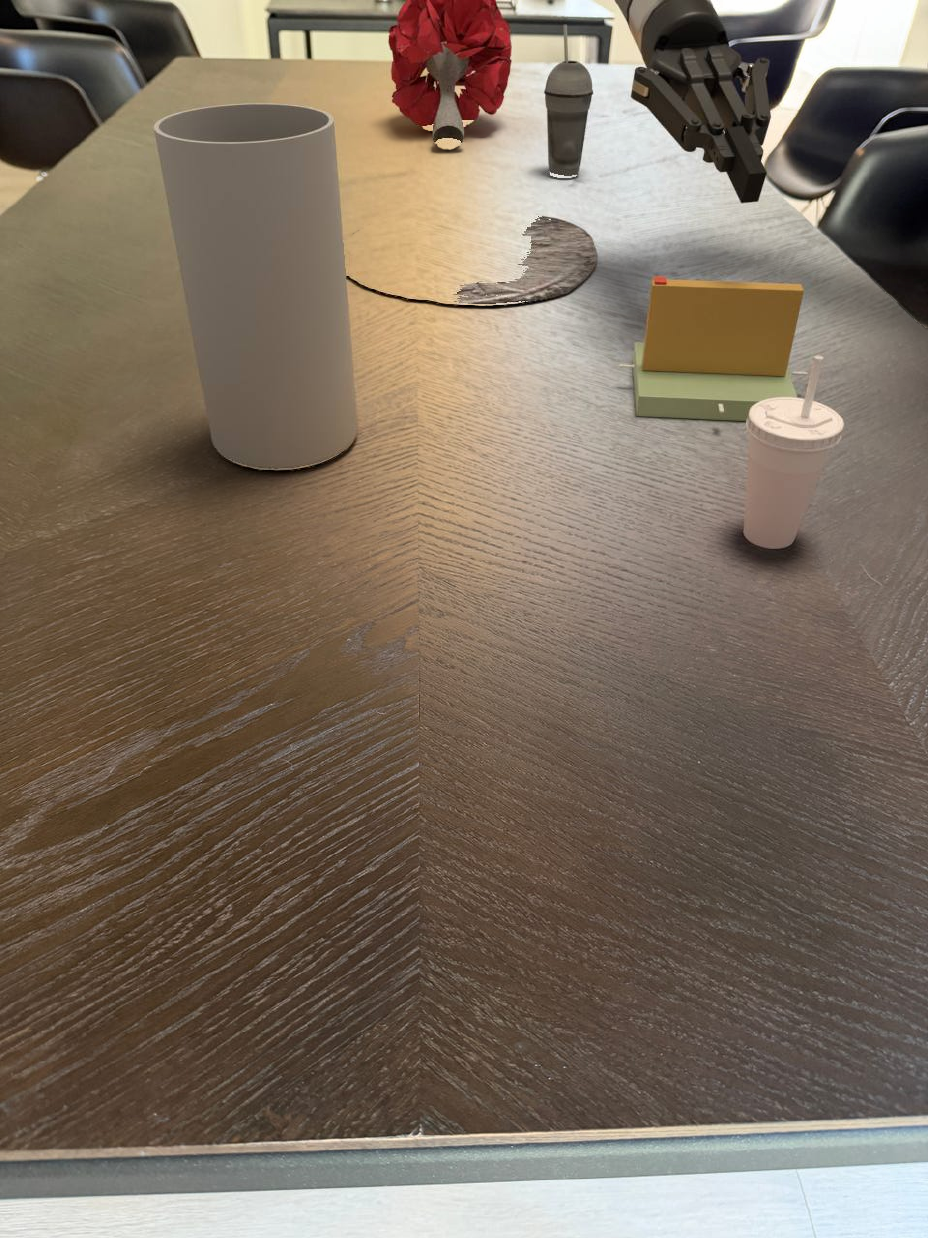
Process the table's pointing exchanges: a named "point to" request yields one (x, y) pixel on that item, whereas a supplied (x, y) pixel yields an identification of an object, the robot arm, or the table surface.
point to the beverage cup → (567, 114)
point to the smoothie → (786, 462)
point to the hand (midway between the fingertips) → (753, 187)
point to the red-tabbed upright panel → (720, 326)
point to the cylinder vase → (263, 277)
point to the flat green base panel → (702, 392)
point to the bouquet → (449, 62)
